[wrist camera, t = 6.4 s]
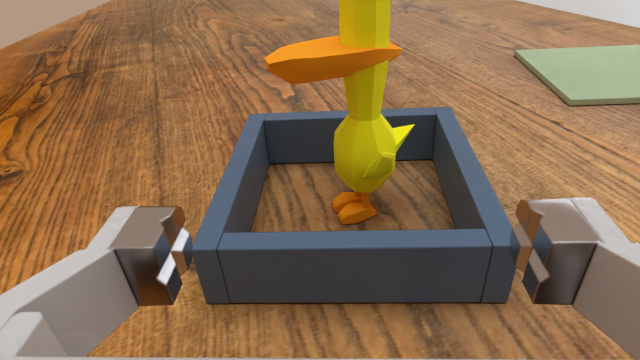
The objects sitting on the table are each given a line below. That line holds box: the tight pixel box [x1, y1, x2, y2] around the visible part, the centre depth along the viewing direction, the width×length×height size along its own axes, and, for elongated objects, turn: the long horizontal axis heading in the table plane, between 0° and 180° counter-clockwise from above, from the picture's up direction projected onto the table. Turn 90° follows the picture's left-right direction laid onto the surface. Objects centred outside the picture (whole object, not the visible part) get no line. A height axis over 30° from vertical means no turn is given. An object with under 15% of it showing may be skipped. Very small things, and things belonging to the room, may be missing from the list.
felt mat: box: [514, 45, 640, 106], centre depth 35 cm, size 12×12×1 cm
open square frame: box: [192, 107, 516, 304], centre depth 21 cm, size 12×12×3 cm
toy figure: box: [265, 0, 415, 224], centre depth 19 cm, size 7×4×12 cm, turn 108°
